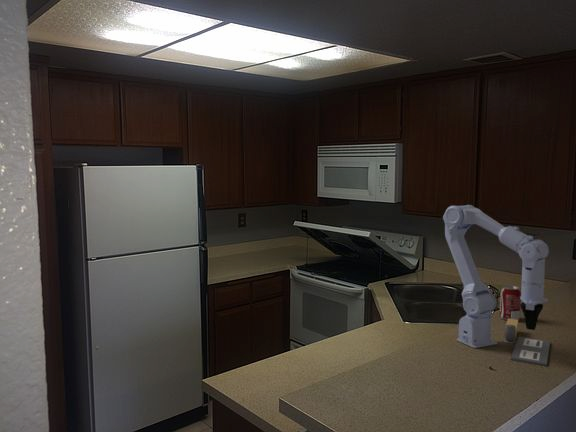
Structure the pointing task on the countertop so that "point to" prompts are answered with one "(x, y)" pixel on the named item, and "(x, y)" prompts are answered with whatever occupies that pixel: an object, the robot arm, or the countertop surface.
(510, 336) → the bar
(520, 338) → the label plate
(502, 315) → the soda can
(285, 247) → the countertop surface
